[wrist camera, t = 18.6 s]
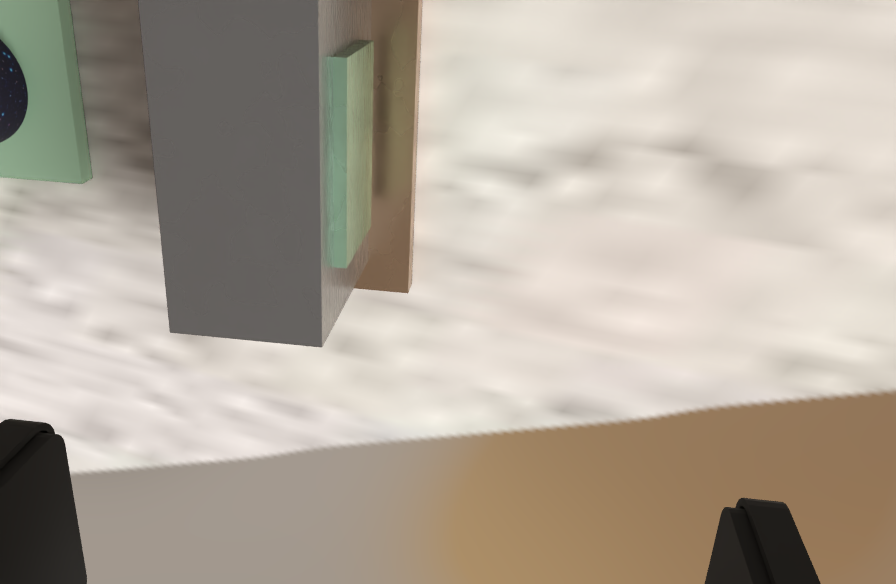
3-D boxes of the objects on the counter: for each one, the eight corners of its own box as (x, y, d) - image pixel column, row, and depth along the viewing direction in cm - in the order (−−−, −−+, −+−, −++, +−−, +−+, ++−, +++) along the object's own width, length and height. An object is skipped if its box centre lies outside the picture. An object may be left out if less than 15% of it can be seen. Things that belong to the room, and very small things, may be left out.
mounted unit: (194, -79, 35) (69, -82, 26) (424, -65, 34) (381, -64, 25) (217, 265, 42) (124, 361, 32) (411, 283, 41) (373, 386, 32)
